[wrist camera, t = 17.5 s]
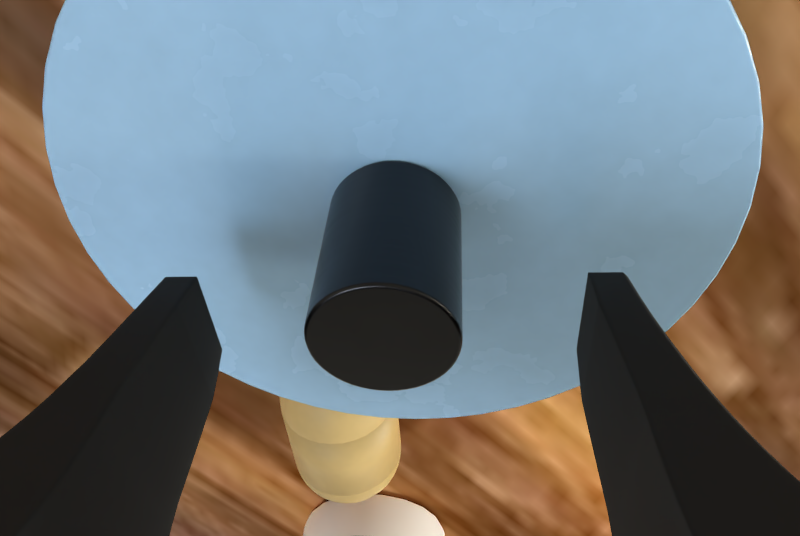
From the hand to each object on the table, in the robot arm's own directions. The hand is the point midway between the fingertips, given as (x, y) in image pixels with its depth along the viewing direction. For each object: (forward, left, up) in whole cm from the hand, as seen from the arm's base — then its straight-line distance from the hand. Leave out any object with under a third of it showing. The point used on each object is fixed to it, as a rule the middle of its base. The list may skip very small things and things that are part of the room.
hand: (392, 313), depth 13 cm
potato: (+7, -9, -8) cm, 14 cm away
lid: (-1, +1, -2) cm, 2 cm away
